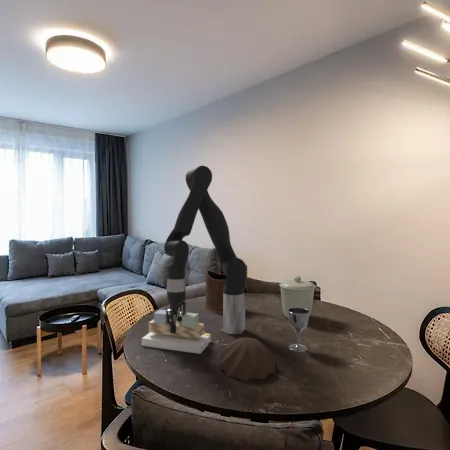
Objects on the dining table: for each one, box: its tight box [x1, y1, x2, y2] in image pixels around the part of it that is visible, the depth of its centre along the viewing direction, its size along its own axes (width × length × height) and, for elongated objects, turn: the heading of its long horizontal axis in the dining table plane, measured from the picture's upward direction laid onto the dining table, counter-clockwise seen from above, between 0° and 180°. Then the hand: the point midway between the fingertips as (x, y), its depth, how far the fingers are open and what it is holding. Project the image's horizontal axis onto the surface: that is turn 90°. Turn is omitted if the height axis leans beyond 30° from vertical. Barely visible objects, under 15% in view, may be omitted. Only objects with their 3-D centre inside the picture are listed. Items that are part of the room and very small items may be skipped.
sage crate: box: [182, 312, 200, 328], centre depth 131 cm, size 5×5×4 cm
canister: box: [278, 275, 317, 319], centre depth 165 cm, size 18×18×21 cm
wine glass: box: [288, 307, 310, 353], centre depth 129 cm, size 8×8×15 cm
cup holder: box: [203, 263, 248, 314], centre depth 179 cm, size 18×24×25 cm
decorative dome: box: [218, 336, 276, 382], centre depth 114 cm, size 19×20×10 cm
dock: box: [141, 332, 212, 355], centre depth 133 cm, size 25×12×3 cm, turn 74°
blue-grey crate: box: [153, 309, 170, 324], centre depth 134 cm, size 5×5×4 cm
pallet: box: [148, 318, 205, 339], centre depth 133 cm, size 22×6×4 cm, turn 73°
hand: (176, 330), depth 133 cm, fingers closed on pallet, 5 cm apart
